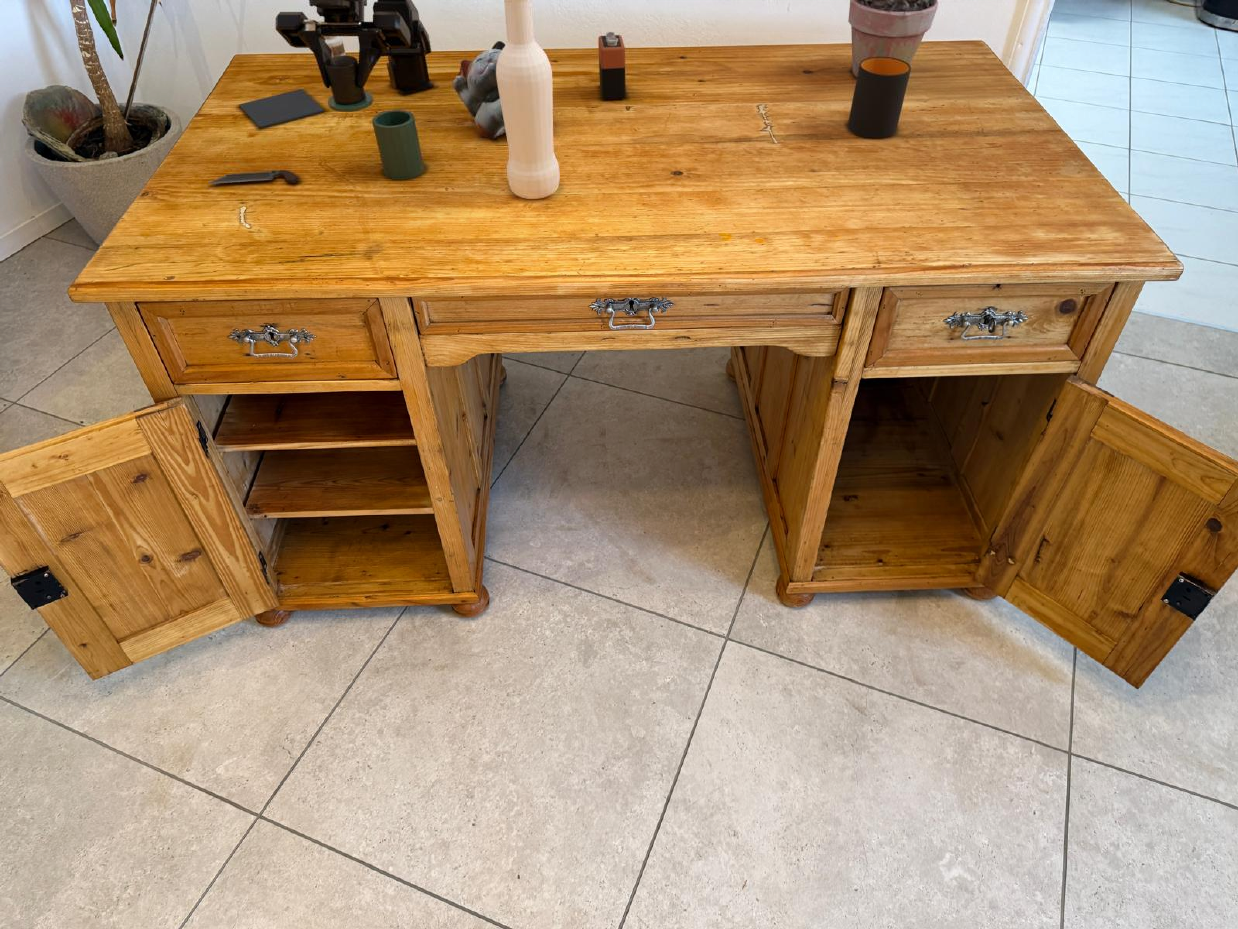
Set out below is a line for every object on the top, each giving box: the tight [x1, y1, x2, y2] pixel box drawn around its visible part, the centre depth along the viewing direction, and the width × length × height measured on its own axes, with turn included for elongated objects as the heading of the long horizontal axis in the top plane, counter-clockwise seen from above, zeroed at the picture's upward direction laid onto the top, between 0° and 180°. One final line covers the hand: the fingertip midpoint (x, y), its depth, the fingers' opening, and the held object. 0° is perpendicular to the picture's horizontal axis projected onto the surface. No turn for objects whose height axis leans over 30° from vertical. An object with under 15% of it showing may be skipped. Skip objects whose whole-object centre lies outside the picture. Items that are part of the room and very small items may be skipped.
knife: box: [208, 169, 299, 185], centre depth 129 cm, size 14×4×1 cm, turn 97°
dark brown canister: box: [324, 55, 374, 113], centre depth 123 cm, size 7×7×7 cm
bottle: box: [496, 0, 561, 200], centre depth 116 cm, size 8×8×30 cm
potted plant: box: [847, 0, 939, 78], centre depth 148 cm, size 18×20×25 cm
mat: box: [238, 88, 325, 130], centre depth 149 cm, size 12×12×1 cm
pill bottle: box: [325, 36, 347, 57], centre depth 160 cm, size 4×4×8 cm
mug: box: [847, 57, 912, 140], centre depth 138 cm, size 8×12×10 cm
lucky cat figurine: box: [451, 40, 506, 140], centre depth 139 cm, size 15×12×14 cm
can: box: [371, 109, 425, 181], centre depth 129 cm, size 6×6×8 cm
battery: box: [597, 31, 627, 101], centre depth 148 cm, size 4×7×10 cm, turn 6°
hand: (343, 87), depth 122 cm, fingers closed on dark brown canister, 5 cm apart
